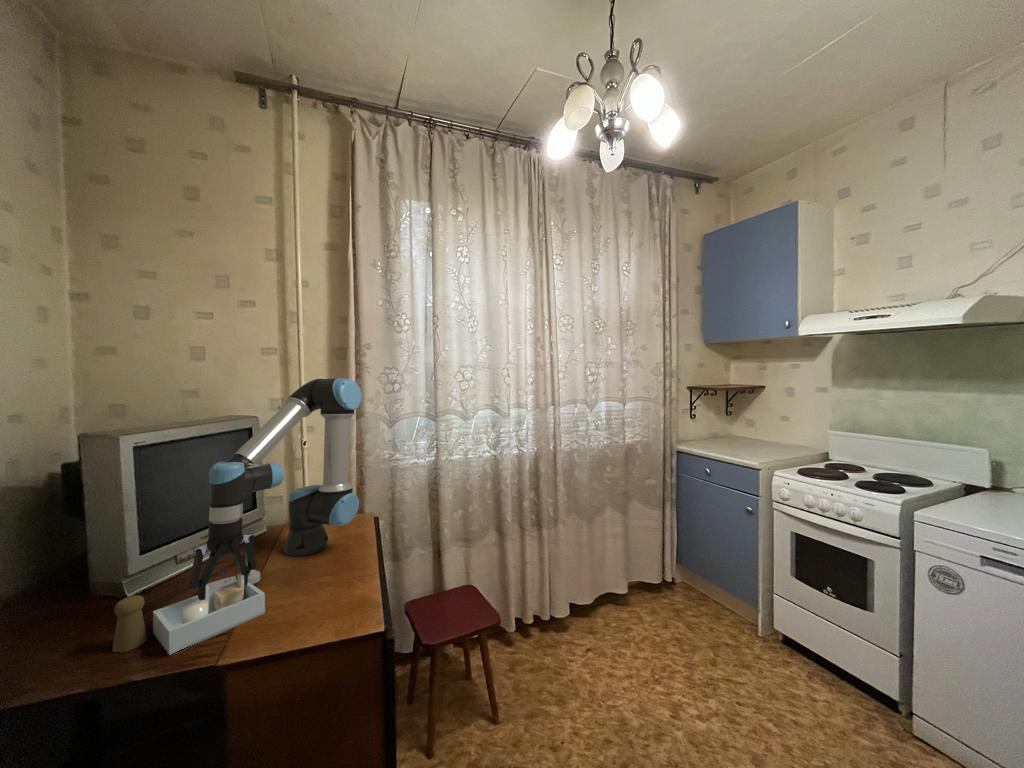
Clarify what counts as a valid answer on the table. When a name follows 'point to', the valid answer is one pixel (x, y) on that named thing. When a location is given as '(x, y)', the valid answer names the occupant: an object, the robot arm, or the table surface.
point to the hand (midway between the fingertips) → (223, 603)
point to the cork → (129, 624)
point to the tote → (205, 619)
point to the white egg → (194, 610)
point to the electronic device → (235, 579)
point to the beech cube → (227, 597)
